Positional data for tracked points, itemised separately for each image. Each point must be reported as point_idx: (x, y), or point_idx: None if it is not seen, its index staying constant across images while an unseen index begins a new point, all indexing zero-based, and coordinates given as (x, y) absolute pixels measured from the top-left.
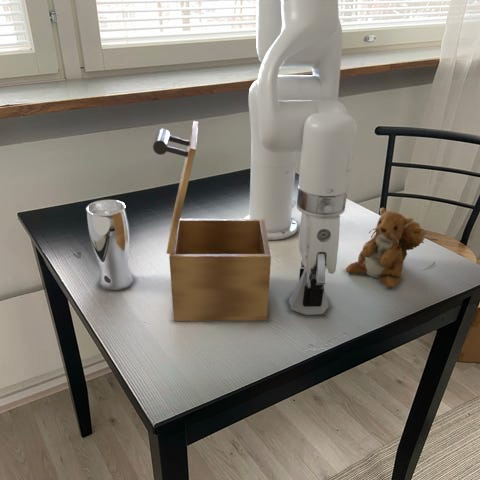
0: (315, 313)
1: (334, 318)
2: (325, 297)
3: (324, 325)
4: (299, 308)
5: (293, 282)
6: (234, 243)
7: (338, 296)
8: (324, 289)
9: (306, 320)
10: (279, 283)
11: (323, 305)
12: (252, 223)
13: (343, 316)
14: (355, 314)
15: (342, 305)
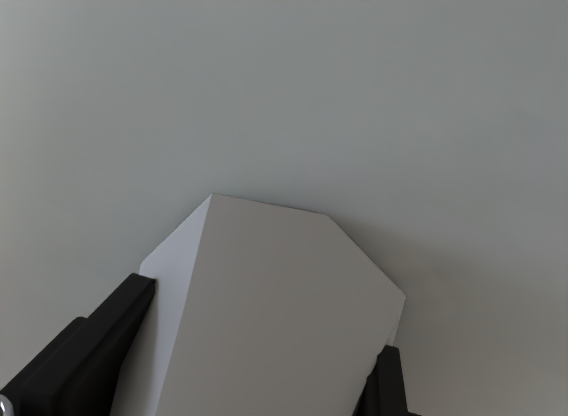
0: (392, 343)
1: (467, 232)
2: (322, 290)
3: (514, 326)
4: None
5: (6, 296)
6: None
7: (208, 74)
8: (287, 331)
9: (420, 397)
10: (15, 372)
11: (375, 307)
12: None
13: (469, 158)
14: (481, 51)
15: (332, 99)
